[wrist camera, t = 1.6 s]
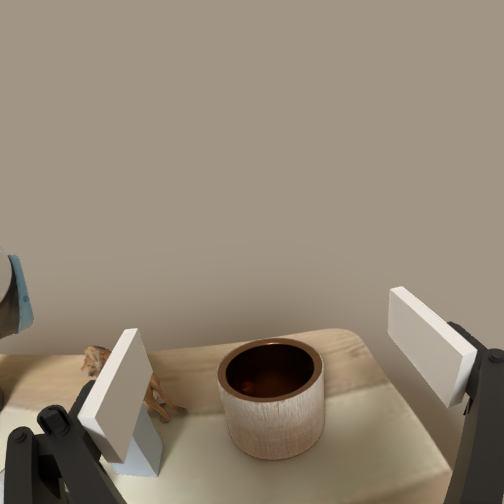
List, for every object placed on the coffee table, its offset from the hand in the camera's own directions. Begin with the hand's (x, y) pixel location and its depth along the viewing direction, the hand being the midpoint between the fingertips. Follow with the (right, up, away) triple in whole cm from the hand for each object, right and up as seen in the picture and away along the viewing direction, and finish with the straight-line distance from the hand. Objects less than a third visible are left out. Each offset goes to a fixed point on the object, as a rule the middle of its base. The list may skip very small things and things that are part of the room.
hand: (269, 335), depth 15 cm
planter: (+2, -16, +17) cm, 24 cm away
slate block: (-14, -20, +13) cm, 27 cm away
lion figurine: (-17, -17, +23) cm, 33 cm away
